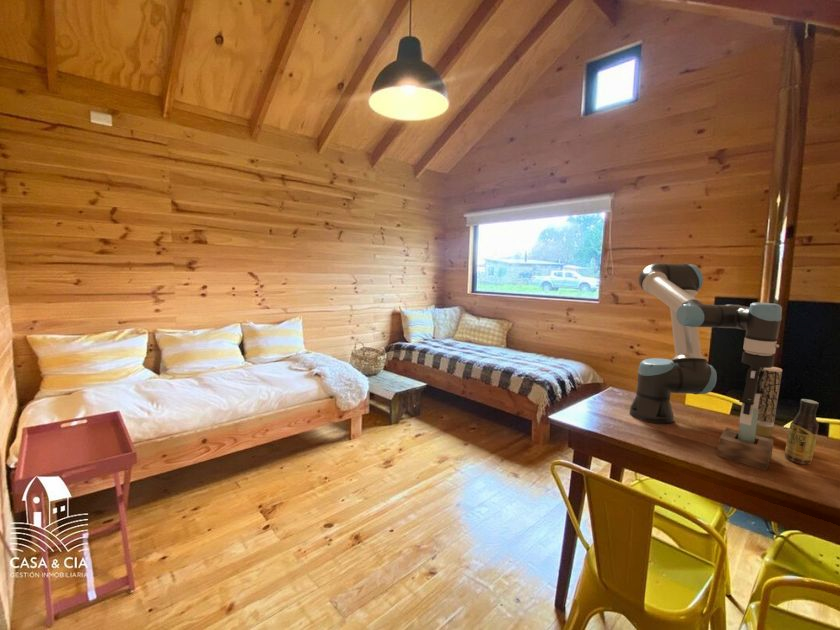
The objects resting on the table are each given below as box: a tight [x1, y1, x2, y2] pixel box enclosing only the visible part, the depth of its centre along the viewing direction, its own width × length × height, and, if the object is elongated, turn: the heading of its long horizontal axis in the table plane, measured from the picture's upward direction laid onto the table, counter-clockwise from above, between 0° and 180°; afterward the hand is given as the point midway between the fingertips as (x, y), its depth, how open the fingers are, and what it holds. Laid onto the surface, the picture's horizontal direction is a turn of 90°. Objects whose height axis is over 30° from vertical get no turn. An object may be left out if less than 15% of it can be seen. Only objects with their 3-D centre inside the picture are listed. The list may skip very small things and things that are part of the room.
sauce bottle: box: [784, 398, 820, 465], centre depth 121 cm, size 6×6×20 cm
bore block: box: [716, 427, 775, 471], centre depth 123 cm, size 12×12×6 cm
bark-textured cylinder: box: [755, 366, 783, 438], centre depth 140 cm, size 7×7×25 cm
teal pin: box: [738, 408, 759, 444], centre depth 123 cm, size 4×4×14 cm
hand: (748, 417), depth 123 cm, fingers open, 13 cm apart
